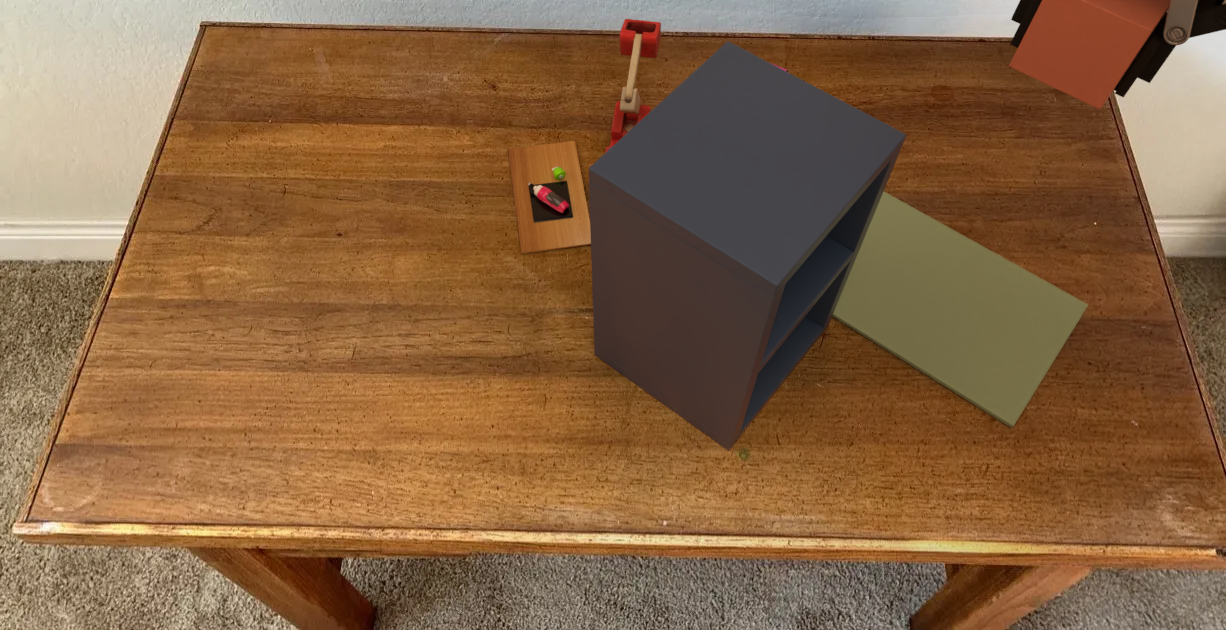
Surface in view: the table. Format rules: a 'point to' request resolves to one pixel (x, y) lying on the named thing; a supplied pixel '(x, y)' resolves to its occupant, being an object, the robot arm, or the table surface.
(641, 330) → the shelf
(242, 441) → the table surface
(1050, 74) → the toy block
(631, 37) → the toy fire truck
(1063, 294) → the play mat
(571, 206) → the board
